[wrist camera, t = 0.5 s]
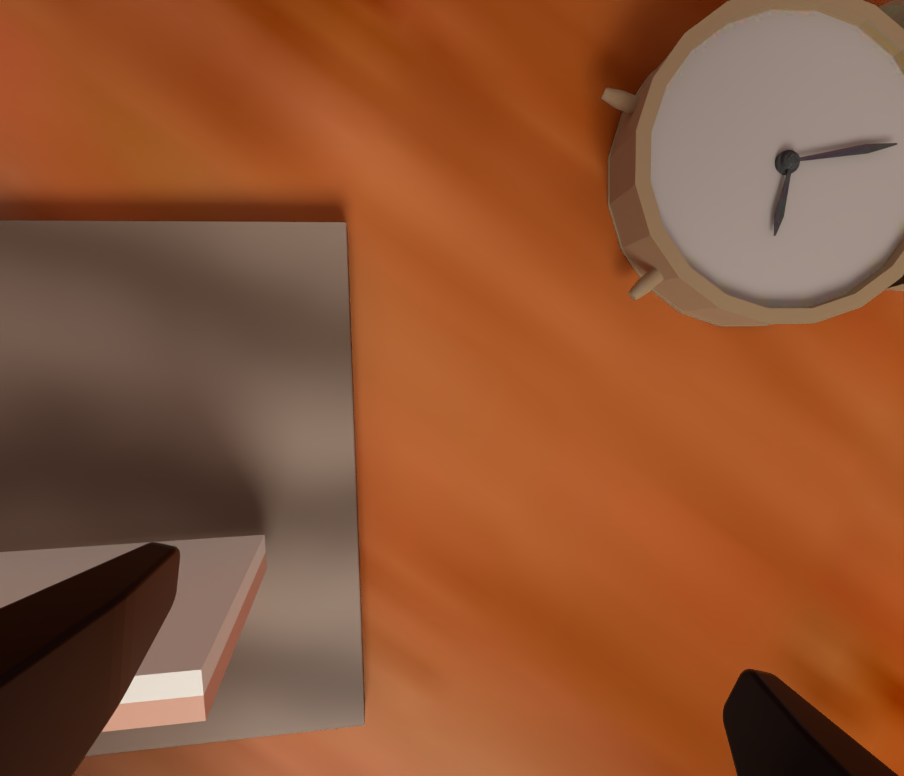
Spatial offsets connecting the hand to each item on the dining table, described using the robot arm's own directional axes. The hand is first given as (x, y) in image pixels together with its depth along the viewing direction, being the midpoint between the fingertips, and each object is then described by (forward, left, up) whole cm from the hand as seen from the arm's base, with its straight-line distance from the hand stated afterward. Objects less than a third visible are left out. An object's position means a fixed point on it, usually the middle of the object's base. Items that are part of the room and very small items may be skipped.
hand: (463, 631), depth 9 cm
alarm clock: (+11, -15, -13) cm, 23 cm away
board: (0, +10, -12) cm, 16 cm away
